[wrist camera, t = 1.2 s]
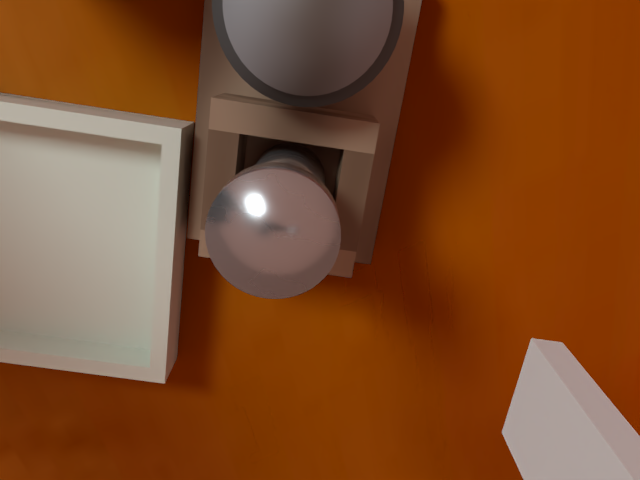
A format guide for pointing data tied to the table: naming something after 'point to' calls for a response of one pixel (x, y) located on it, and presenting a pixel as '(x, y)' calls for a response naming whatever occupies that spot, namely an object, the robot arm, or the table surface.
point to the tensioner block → (303, 101)
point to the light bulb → (275, 225)
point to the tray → (91, 237)
